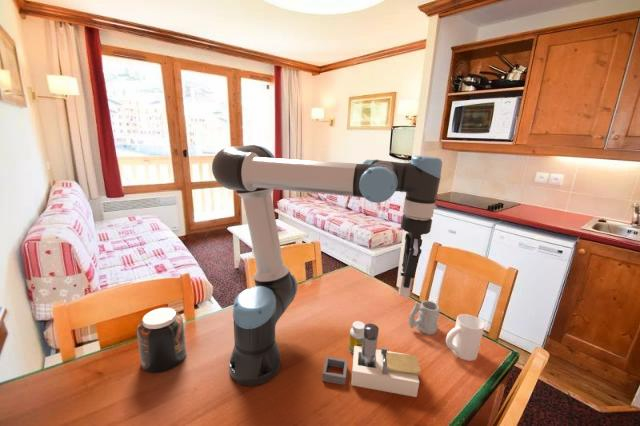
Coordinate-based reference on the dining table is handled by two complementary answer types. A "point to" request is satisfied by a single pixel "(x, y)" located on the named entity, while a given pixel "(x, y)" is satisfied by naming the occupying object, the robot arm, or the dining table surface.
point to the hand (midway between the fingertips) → (403, 295)
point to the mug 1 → (425, 317)
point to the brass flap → (401, 362)
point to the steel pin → (369, 345)
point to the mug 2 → (465, 337)
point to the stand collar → (332, 376)
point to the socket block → (382, 375)
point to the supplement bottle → (356, 335)
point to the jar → (161, 340)
